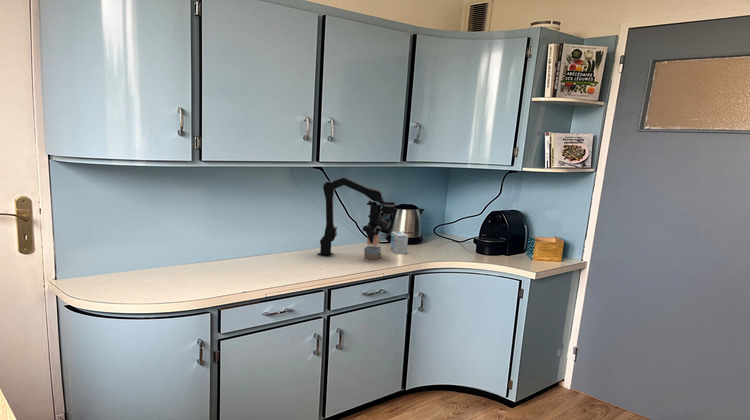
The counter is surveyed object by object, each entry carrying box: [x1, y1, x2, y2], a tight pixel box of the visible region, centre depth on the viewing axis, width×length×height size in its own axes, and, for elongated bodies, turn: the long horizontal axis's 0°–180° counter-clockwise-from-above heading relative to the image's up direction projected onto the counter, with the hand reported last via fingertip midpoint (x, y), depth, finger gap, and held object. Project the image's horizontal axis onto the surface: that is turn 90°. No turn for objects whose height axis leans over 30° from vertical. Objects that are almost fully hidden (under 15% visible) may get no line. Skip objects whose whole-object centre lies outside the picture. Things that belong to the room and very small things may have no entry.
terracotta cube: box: [366, 234, 380, 247], centre depth 267 cm, size 5×5×5 cm
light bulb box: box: [389, 231, 409, 255], centre depth 285 cm, size 11×7×11 cm, turn 17°
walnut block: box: [363, 252, 382, 261], centre depth 268 cm, size 7×7×3 cm
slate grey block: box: [363, 244, 382, 255], centre depth 268 cm, size 7×7×3 cm
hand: (373, 242), depth 267 cm, fingers closed on terracotta cube, 5 cm apart
